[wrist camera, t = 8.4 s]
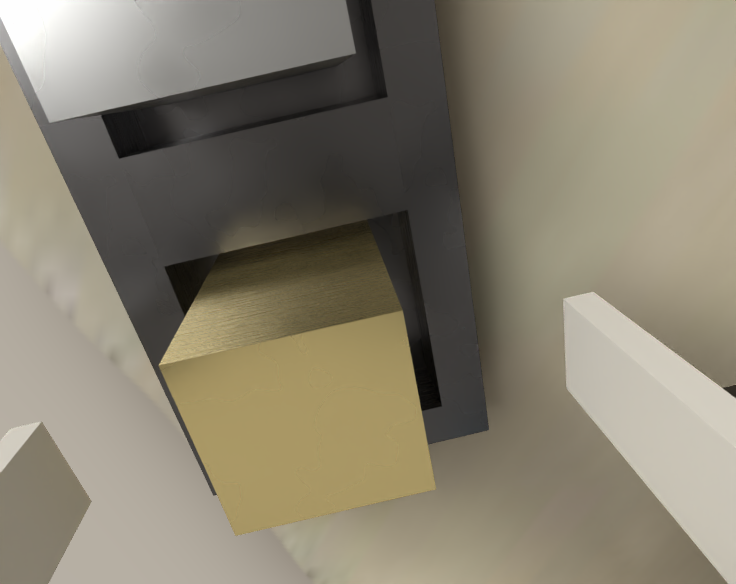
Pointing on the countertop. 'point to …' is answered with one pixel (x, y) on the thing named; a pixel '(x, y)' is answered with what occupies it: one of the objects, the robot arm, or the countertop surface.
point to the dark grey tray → (291, 193)
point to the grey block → (167, 48)
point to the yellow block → (300, 380)
